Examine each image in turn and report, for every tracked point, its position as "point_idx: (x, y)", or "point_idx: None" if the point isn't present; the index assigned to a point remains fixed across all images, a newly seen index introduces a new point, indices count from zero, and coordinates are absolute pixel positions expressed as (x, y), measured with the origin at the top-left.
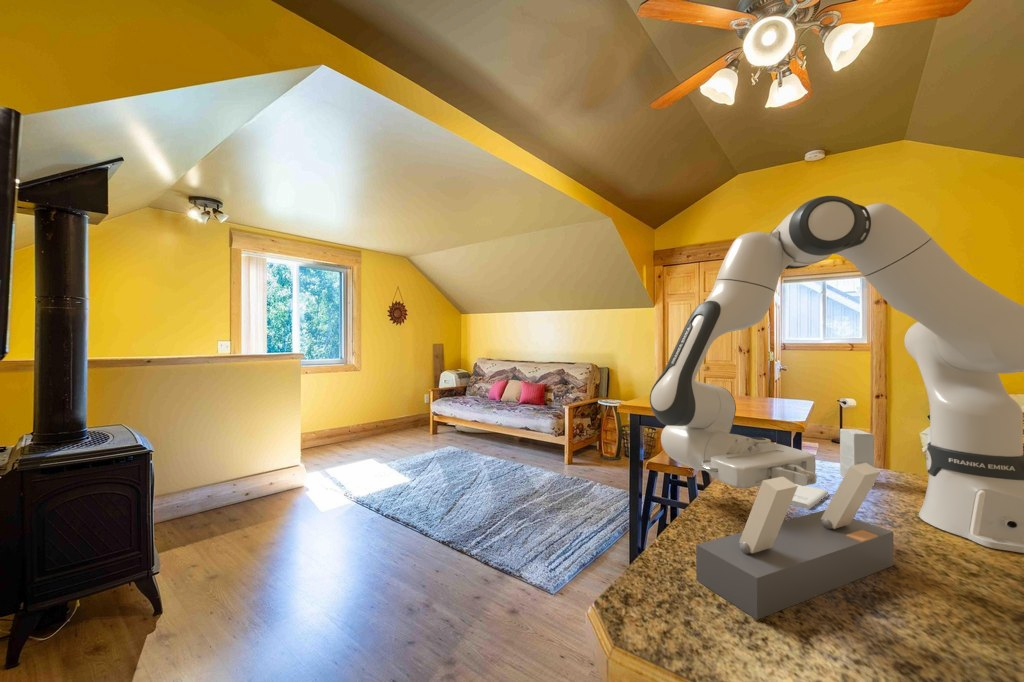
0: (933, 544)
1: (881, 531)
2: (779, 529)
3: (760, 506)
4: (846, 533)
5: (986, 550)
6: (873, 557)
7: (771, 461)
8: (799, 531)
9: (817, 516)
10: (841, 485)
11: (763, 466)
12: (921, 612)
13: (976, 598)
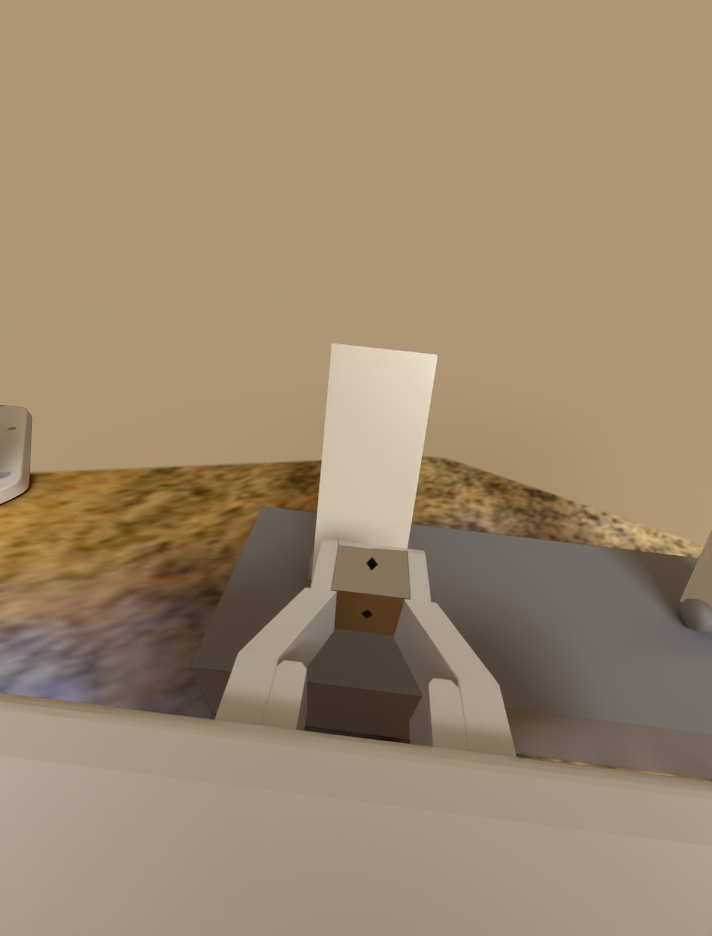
0: (60, 544)
1: (284, 517)
2: (705, 546)
3: None
4: None
5: (42, 493)
6: None
7: (501, 803)
8: (497, 624)
9: None
10: (422, 442)
11: (671, 778)
12: None
13: (296, 482)
